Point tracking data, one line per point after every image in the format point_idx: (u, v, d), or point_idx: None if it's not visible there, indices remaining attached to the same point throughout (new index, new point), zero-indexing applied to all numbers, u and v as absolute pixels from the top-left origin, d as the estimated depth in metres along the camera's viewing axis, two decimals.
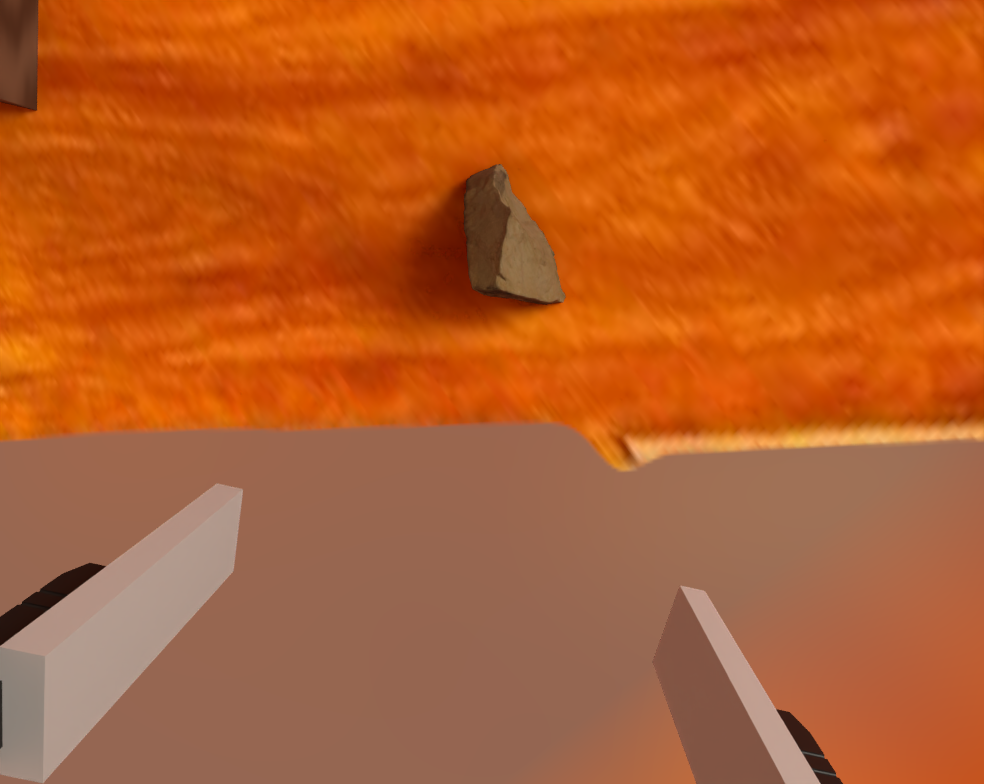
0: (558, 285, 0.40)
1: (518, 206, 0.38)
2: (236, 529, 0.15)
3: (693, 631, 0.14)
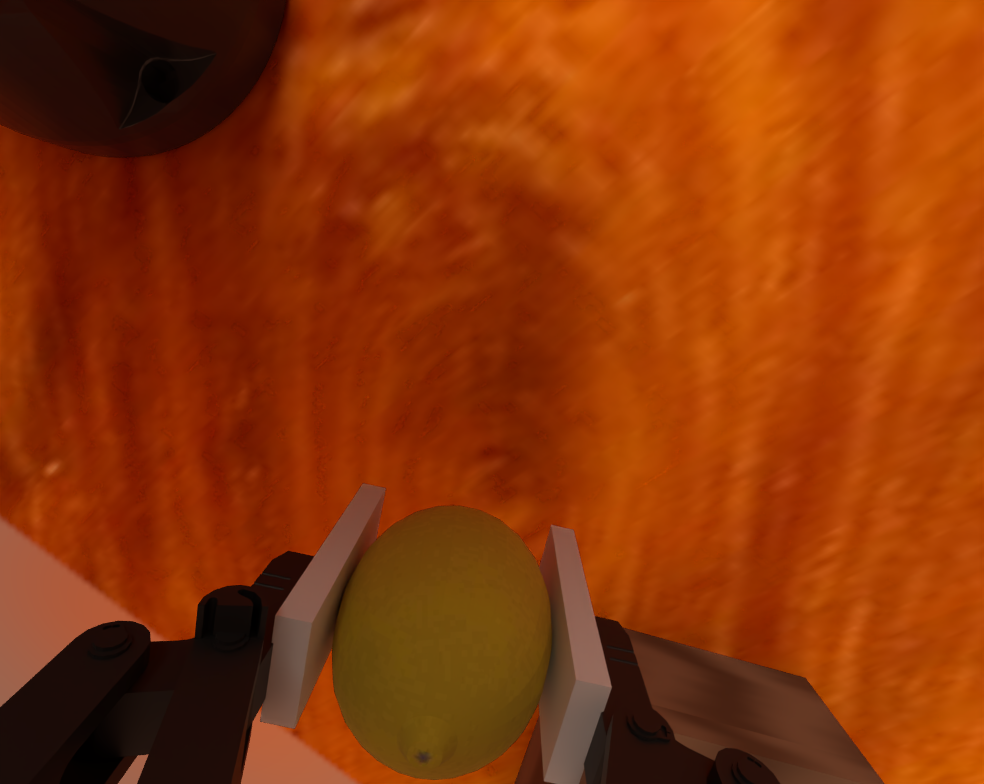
0: None
1: None
2: (377, 524, 0.17)
3: (552, 560, 0.16)
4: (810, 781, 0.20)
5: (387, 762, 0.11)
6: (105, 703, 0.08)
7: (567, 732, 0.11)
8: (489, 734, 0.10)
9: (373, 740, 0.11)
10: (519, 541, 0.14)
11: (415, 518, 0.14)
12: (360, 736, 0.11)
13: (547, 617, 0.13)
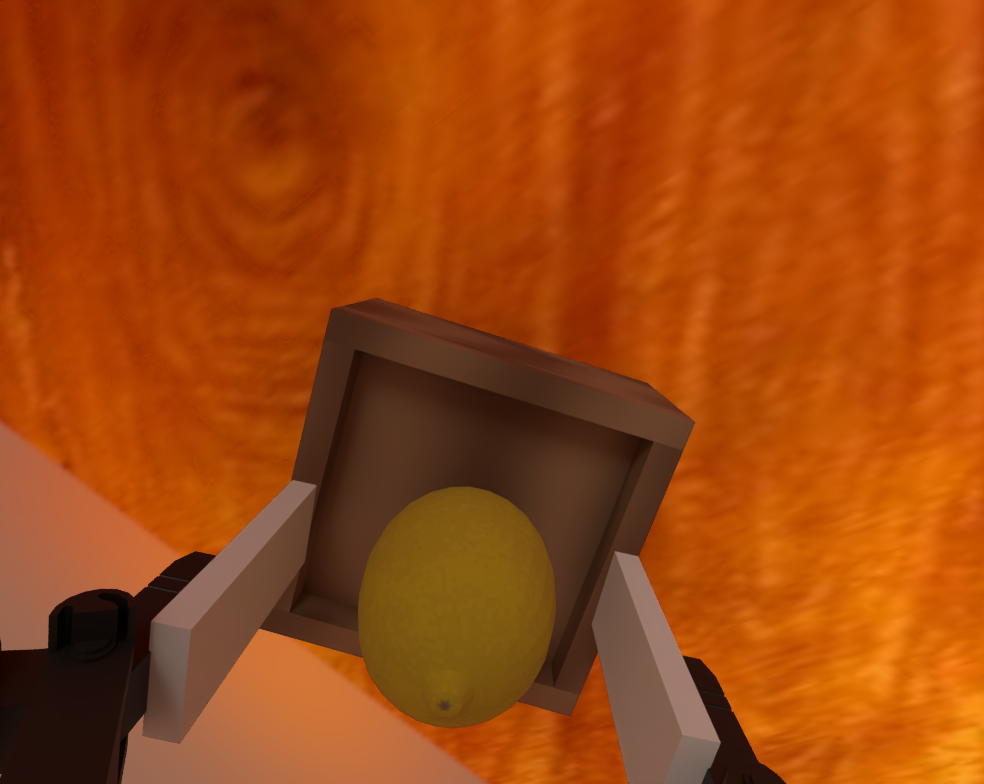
0: None
1: None
2: (309, 523, 0.16)
3: (621, 591, 0.15)
4: (598, 408, 0.17)
5: (411, 712, 0.12)
6: None
7: None
8: (502, 686, 0.12)
9: (398, 692, 0.12)
10: (526, 519, 0.15)
11: (430, 498, 0.15)
12: (386, 689, 0.12)
13: (552, 586, 0.14)
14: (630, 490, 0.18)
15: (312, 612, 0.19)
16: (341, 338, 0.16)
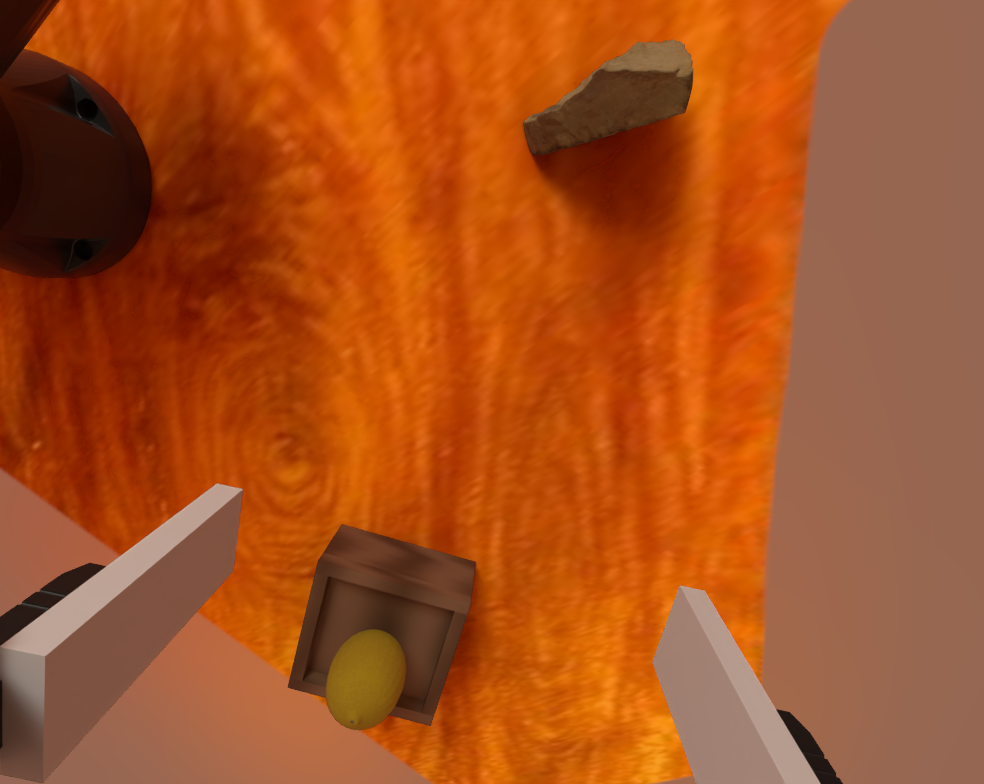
0: None
1: (568, 97, 0.35)
2: (236, 529, 0.15)
3: (693, 631, 0.14)
4: (430, 598, 0.40)
5: (343, 724, 0.35)
6: None
7: None
8: (373, 715, 0.35)
9: (338, 717, 0.35)
10: (394, 646, 0.38)
11: (356, 639, 0.38)
12: (334, 716, 0.35)
13: (399, 676, 0.37)
14: (448, 629, 0.41)
15: (312, 680, 0.42)
16: (322, 572, 0.39)
